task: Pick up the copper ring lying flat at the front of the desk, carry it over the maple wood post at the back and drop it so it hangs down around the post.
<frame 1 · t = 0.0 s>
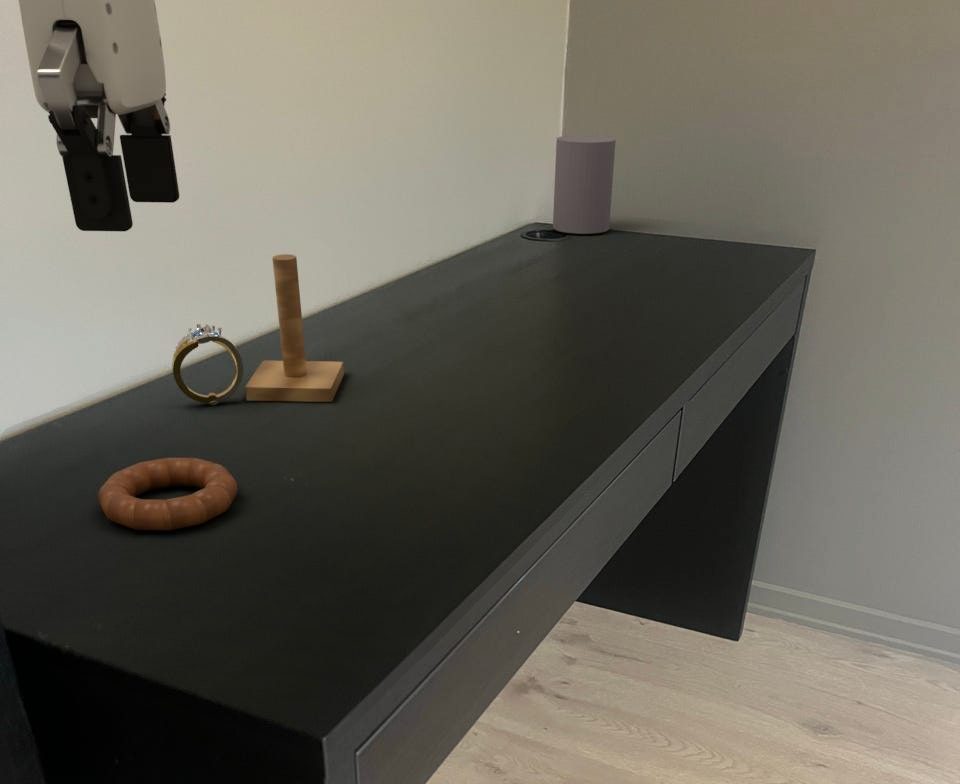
hand: (132, 214, 62), 24 cm above the table, tool pointing down, fingers open, 9 cm apart
container: (580, 231, 181), on the table
post: (296, 387, 107), on the table
ring: (168, 492, 81), point 1 cm above the table
ring 2: (213, 405, 103), on the table
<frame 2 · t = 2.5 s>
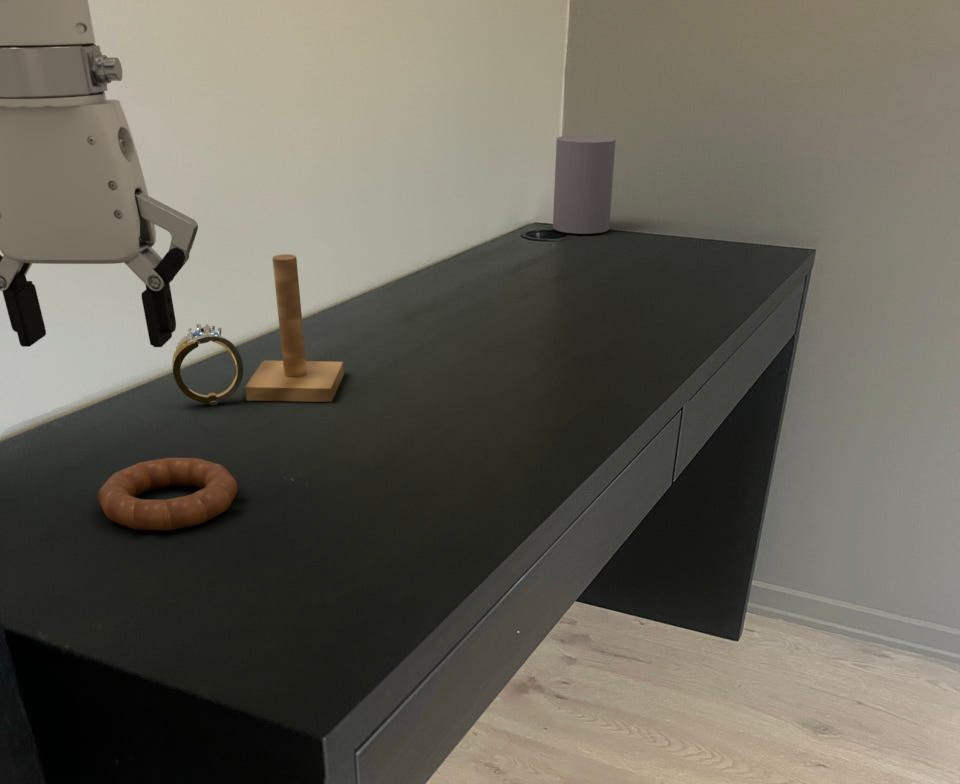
hand: (98, 341, 74), 14 cm above the table, tool pointing down, fingers open, 9 cm apart
nothing on the table moved.
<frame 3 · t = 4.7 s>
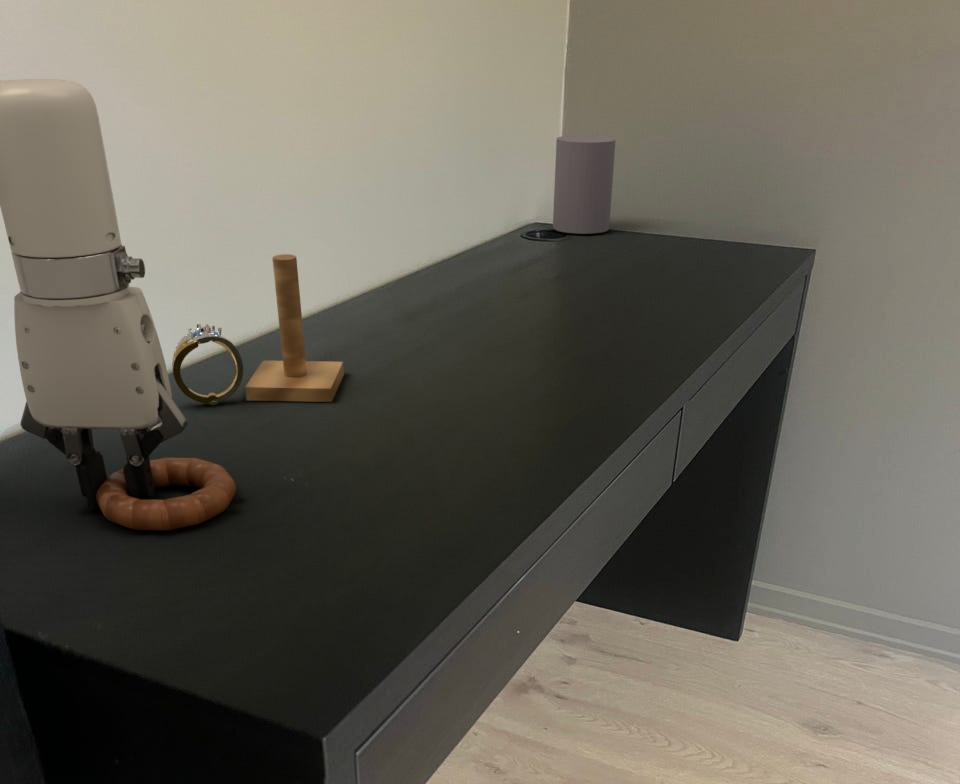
hand: (120, 502, 82), 0 cm above the table, tool pointing down, fingers closed on ring, 2 cm apart
ring: (167, 492, 81), point 1 cm above the table, touching gripper
everything else where it was.
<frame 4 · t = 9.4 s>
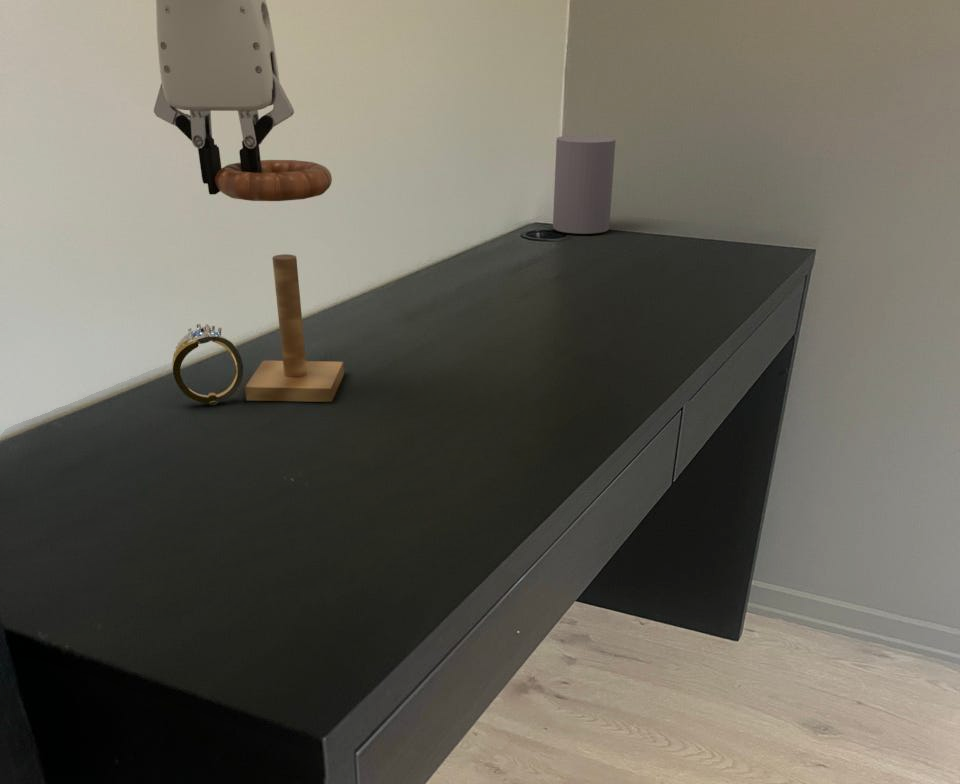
hand: (233, 190, 96), 20 cm above the table, tool pointing down, fingers closed on ring, 2 cm apart
ring: (274, 179, 95), point 21 cm above the table, touching gripper
everything else where it was.
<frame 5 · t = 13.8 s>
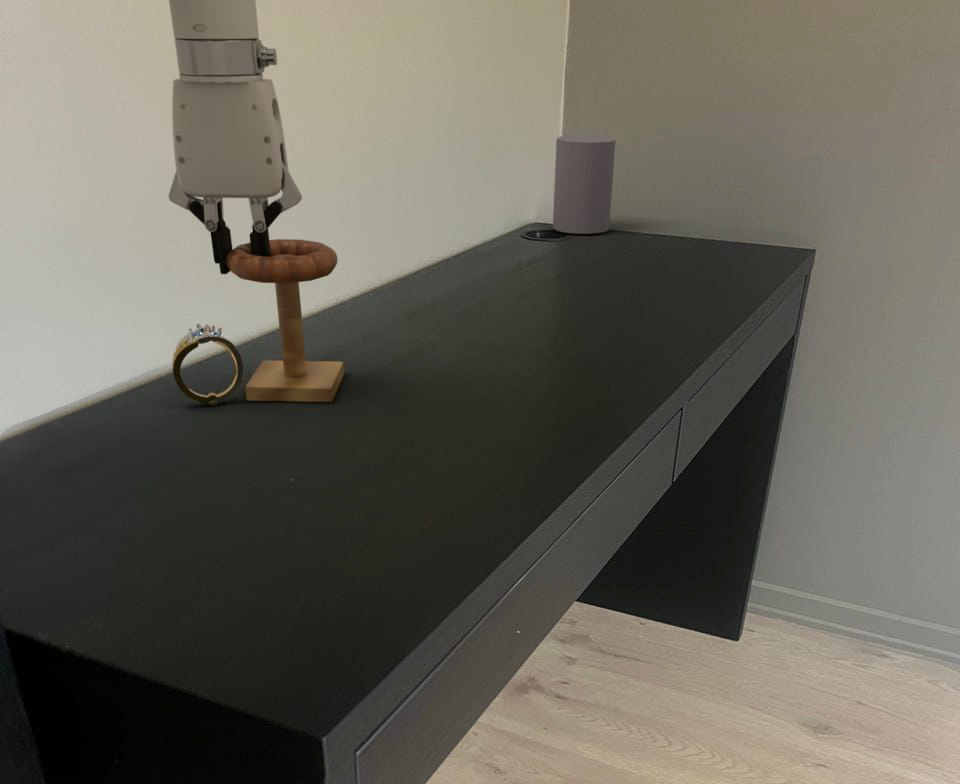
hand: (243, 269, 100), 12 cm above the table, tool pointing down, fingers closed on ring, 2 cm apart
ring: (282, 260, 100), point 13 cm above the table, touching gripper
everything else where it was.
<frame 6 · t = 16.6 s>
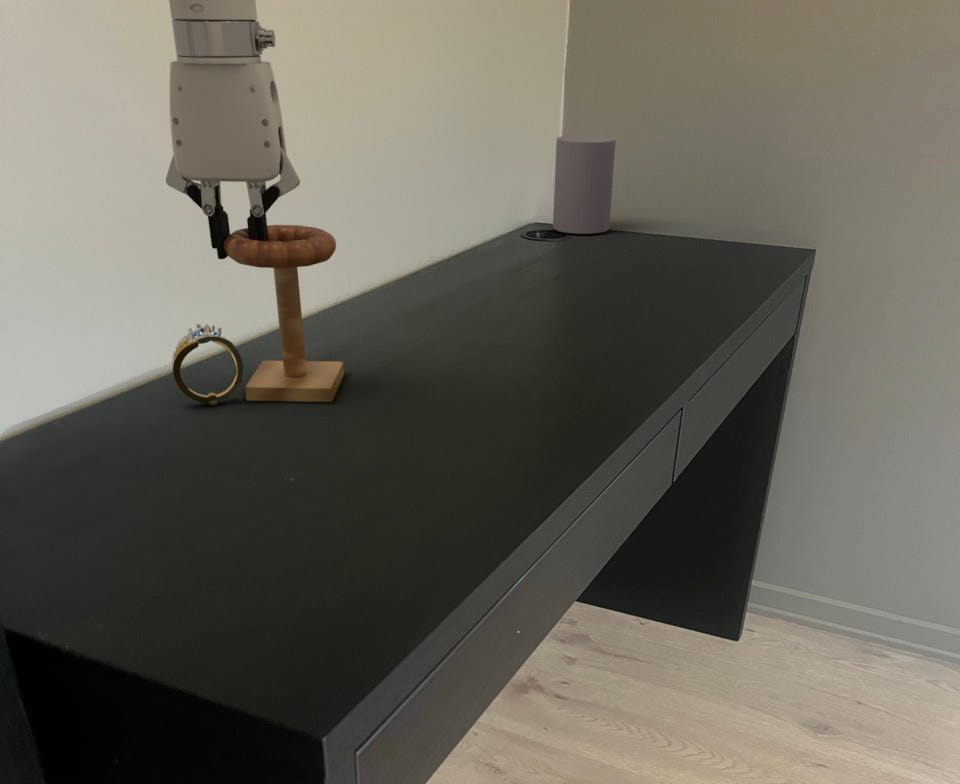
hand: (241, 254, 100), 14 cm above the table, tool pointing down, fingers closed on ring, 2 cm apart
ring: (280, 245, 99), point 15 cm above the table, touching gripper
everything else where it was.
when the fingers open (15 cm above the table, at t = 19.1 s): ring drops 13 cm, resting on post.
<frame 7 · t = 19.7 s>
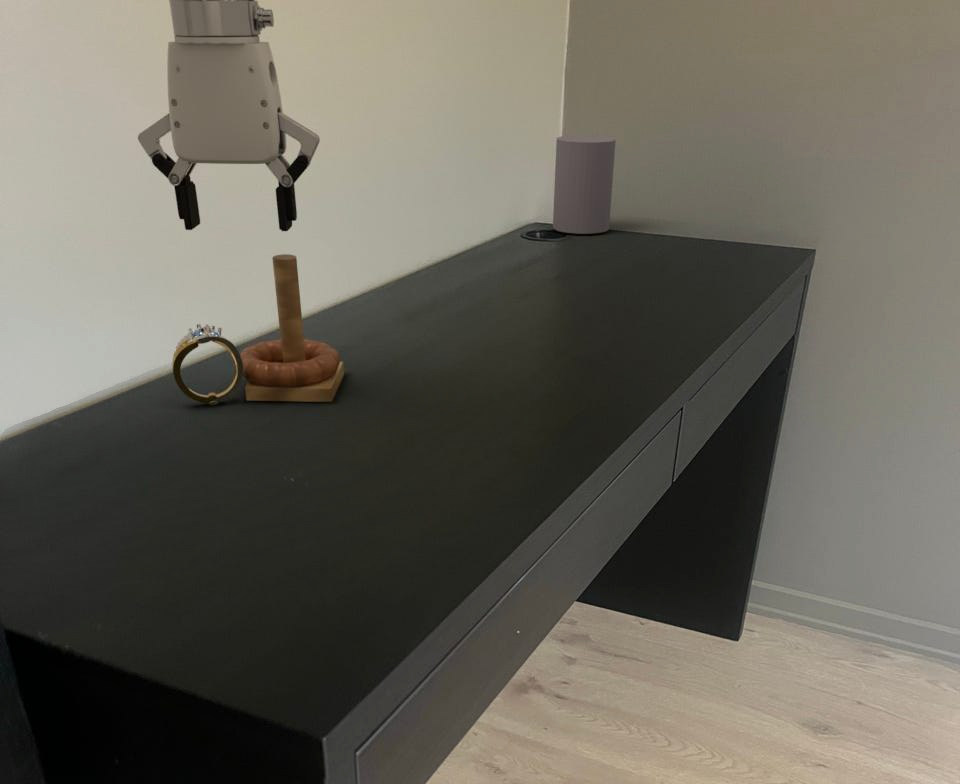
hand: (239, 227, 98), 16 cm above the table, tool pointing down, fingers open, 9 cm apart
ring: (288, 362, 106), point 3 cm above the table, touching post
everything else where it was.
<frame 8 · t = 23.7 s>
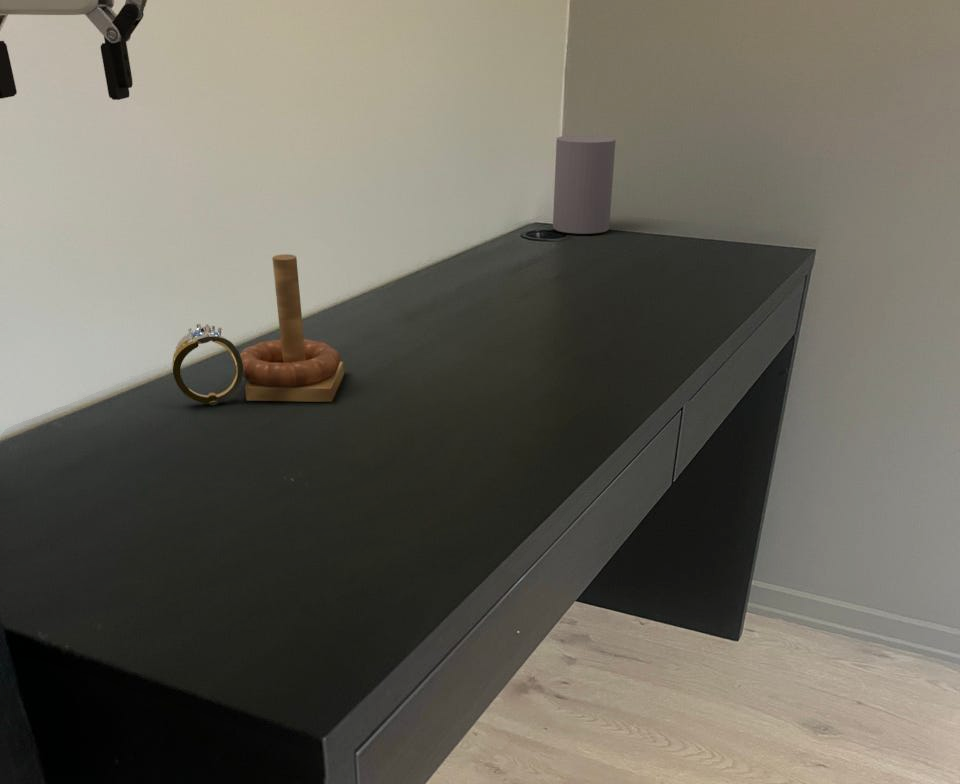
hand: (62, 97, 83), 28 cm above the table, tool pointing down, fingers open, 9 cm apart
nothing on the table moved.
at the end: ring 0.7 cm from the post (horizontally); ring point 2.7 cm above the table; the gripper is holding nothing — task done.
